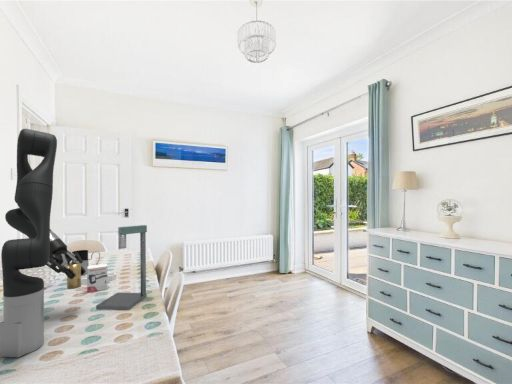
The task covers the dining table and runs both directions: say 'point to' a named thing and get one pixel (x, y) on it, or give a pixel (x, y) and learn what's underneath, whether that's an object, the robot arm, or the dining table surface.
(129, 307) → the stand
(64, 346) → the dining table surface
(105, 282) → the ink box
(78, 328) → the dining table surface
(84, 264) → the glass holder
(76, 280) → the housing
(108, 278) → the white brass knuckles
